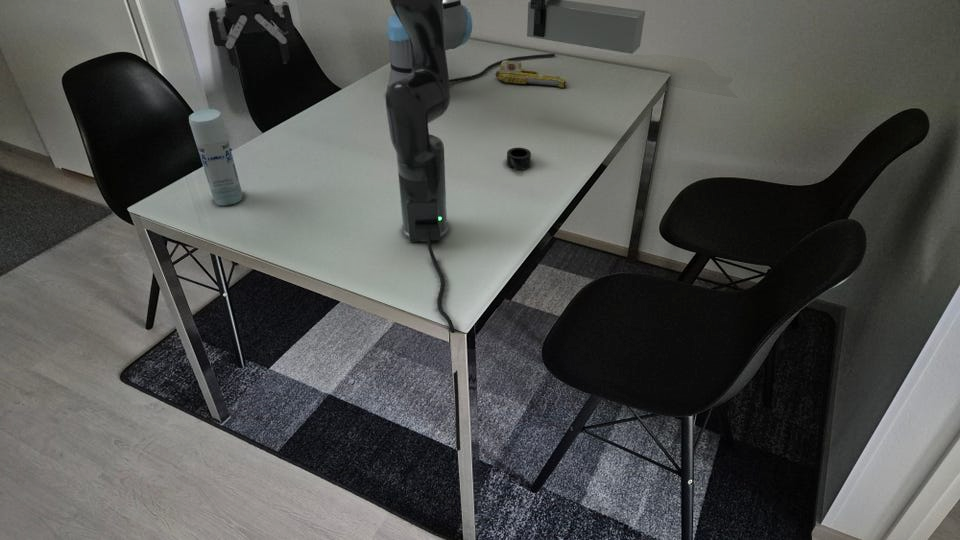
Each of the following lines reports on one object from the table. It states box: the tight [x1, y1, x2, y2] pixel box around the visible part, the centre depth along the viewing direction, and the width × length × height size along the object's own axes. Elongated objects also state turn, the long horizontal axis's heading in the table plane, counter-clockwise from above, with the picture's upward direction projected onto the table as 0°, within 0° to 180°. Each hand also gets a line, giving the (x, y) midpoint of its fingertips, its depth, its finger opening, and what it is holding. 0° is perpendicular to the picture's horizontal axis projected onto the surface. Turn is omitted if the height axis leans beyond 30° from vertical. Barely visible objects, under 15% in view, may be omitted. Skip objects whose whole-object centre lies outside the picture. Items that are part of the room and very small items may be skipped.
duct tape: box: [506, 147, 532, 171], centre depth 154 cm, size 8×10×3 cm
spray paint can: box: [188, 108, 244, 206], centre depth 136 cm, size 6×6×20 cm
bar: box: [526, 0, 646, 55], centre depth 153 cm, size 28×6×8 cm, turn 61°
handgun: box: [494, 59, 567, 89], centre depth 199 cm, size 2×23×15 cm
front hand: (261, 64), depth 117 cm, fingers open, 8 cm apart
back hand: (544, 32), depth 159 cm, fingers closed on bar, 6 cm apart
